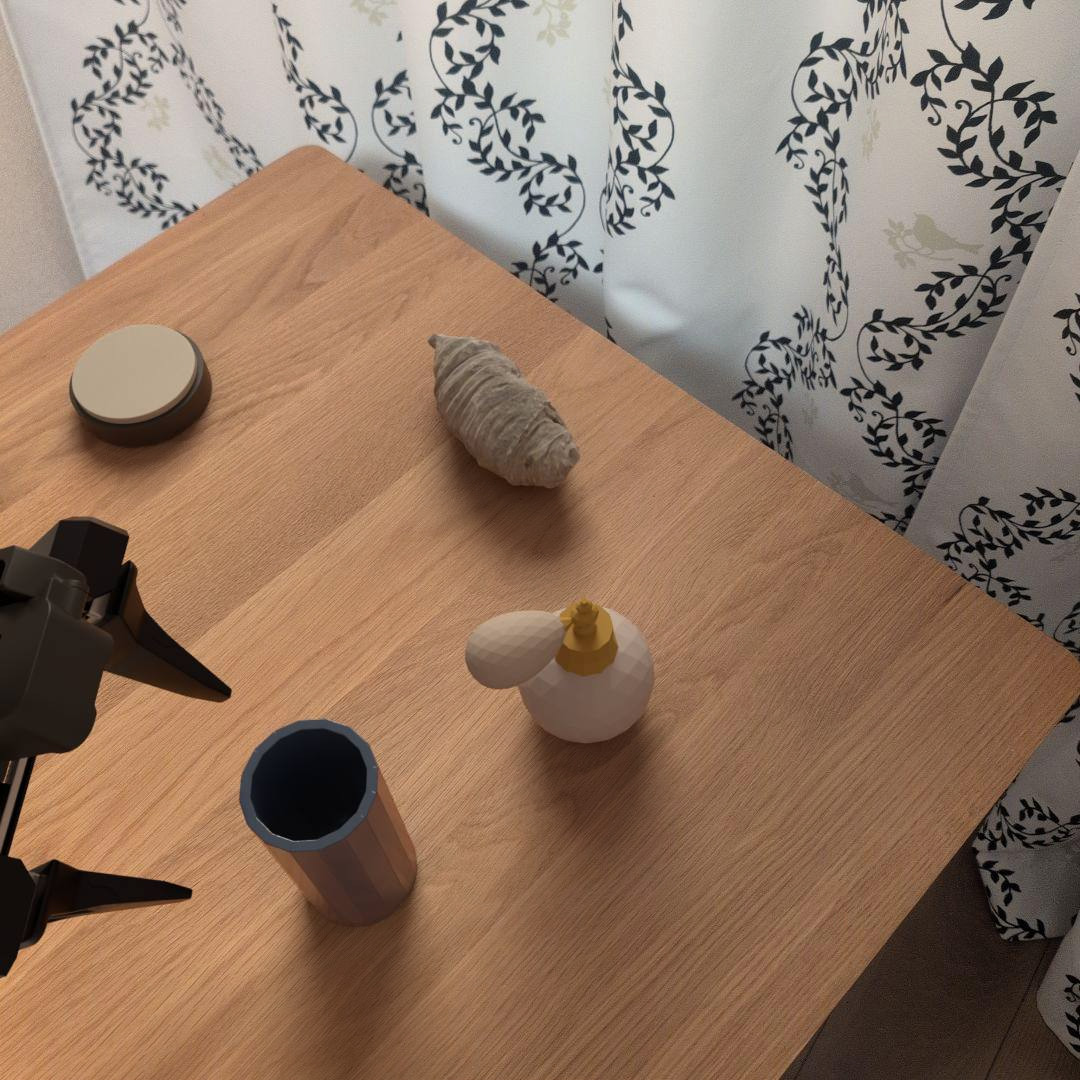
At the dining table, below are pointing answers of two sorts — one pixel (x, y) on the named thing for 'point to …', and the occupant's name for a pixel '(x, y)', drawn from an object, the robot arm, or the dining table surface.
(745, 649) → the dining table surface
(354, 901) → the cup
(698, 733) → the dining table surface
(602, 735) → the perfume bottle
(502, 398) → the taro root
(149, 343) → the beige and brown disc
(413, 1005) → the dining table surface
